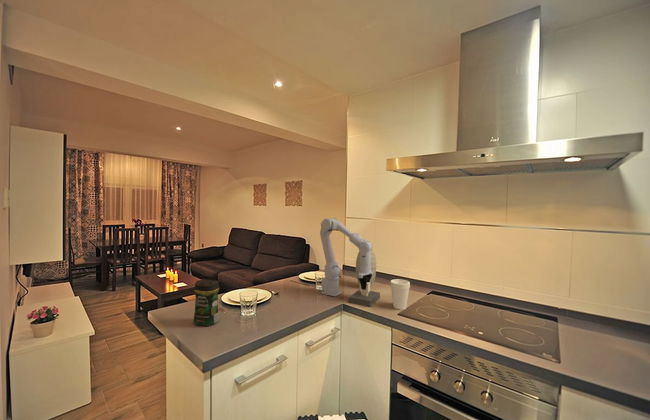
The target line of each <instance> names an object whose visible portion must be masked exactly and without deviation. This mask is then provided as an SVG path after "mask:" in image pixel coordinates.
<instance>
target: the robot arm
mask: <svg viewBox="0 0 650 420" xmlns="http://www.w3.org/2000/svg"><path fill="white" fill-rule="evenodd" d="M334 230H336V231H339V232H340V233H342V234H343V235H345V236H346V237H347V238H348V240H349V242H350V243H352V244H353V245H354V246H356V247H357V248H358V252H359V251H360V272H359V274H358V279H359V281H360V284H361V289H363V290H366V285H367V282H370V279H371V277H372V274H373V272H371V250H372V251H373V243H371V241H370V240H367V239H366V238H363V237H362V236H361V235H360V233H358V232H352V231H351V230H350V229H348V227H346V225H344V224H343V223H342V222H341V221H340V220H338V219H337V218H336V217H332V218H323V220H322V221H321V223H320V231H319V235H320V240H321V244H322V250H323V254H324V259H325V265H324V276H325V277H324V278H323V279H322V281H321V294H323V295H326V296H332V297H337V296H339V295H340V294H342V291H340V275H341V274H342V269H341V268H340V266H339V263H338V262H337V261H336V259H335V258H336V257H335V253H334V249H333V245H332V240H331V236H330V235H331V234H332V232H333V231H334Z"/></svg>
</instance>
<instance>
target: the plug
mask: <svg viewBox="0 0 650 420" xmlns="http://www.w3.org/2000/svg"><path fill="white" fill-rule="evenodd" d="M359 289H360V291H361V295H363V296H368V292H370V291H371V288H370V282H367V285H366V290H363V289H361V284H360V285H359Z"/></svg>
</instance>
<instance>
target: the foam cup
mask: <svg viewBox="0 0 650 420" xmlns="http://www.w3.org/2000/svg"><path fill="white" fill-rule="evenodd" d="M410 283H411V282H410V281H408V280H407V279H399V278H397V279H391V280H390V290H391V297H392V299H391V300H392V307H393V308H394V309H396V310H406V309H407V305H408V298H409V292H410V288H411V284H410Z"/></svg>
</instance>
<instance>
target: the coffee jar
mask: <svg viewBox="0 0 650 420" xmlns="http://www.w3.org/2000/svg"><path fill="white" fill-rule="evenodd" d="M219 283H220V281H219V280H212V279H205V278H202V279H199V280H196V281H195V283H194V289H193V291H194V294H195V304H194V305H195V306H194V314H193V315H194V316H193V323H194V324H195V325H197V326H201V327H209V326H213V325H215V324H217V323H218V322H219V319H220V316H219V315H220V313H219V300H218V297H219V291H220V284H219Z"/></svg>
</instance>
